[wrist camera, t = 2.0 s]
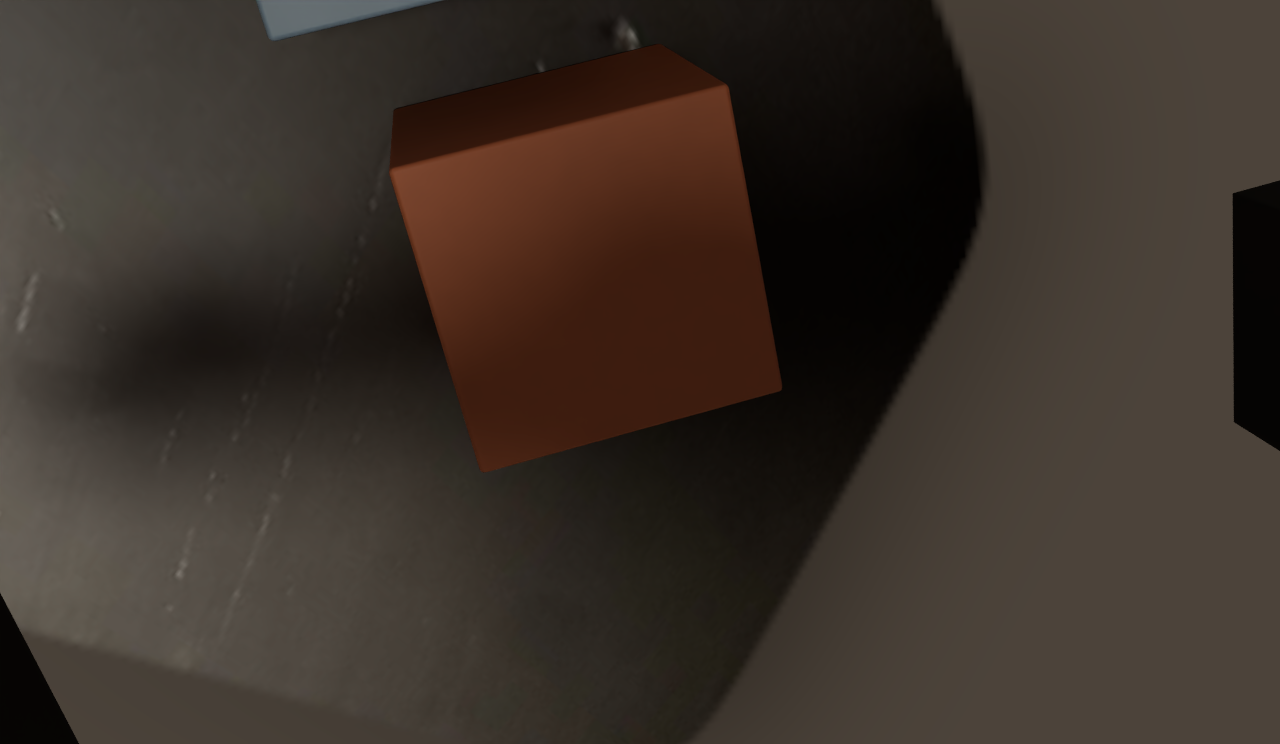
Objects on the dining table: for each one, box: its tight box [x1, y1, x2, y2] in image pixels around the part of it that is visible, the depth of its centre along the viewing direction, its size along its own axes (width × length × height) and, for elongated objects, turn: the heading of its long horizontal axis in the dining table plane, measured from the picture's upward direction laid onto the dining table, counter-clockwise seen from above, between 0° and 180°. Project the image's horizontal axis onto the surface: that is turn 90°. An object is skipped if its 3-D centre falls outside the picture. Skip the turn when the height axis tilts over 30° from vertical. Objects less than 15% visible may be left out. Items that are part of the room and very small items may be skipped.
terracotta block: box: [389, 44, 782, 472], centre depth 20 cm, size 5×5×5 cm
